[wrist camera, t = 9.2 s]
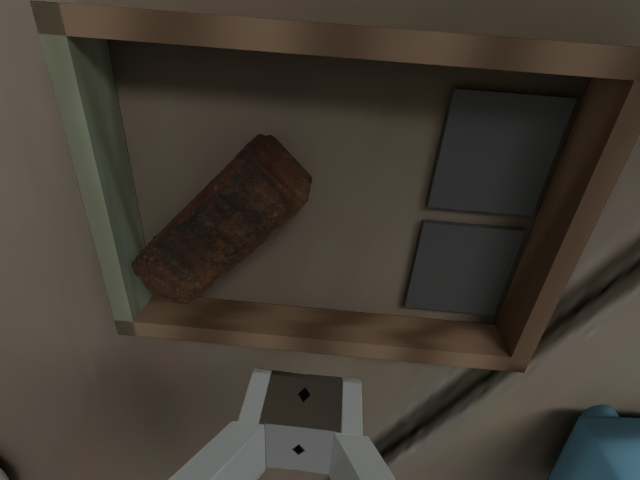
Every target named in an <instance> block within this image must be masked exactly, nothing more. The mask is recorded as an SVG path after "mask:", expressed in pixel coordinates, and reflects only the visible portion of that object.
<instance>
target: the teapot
mask: <svg viewBox="0 0 640 480" xmlns="http://www.w3.org/2000/svg"><path fill="white" fill-rule="evenodd" d="M547 480H640V418H628V417H619V415H618V414H617V412H616V410H615V409H614V408H613V407H611V406H608V405H597V406H593V407H590V408H588V409H587V410H585V411H584V412H583V413H582V414H581V415H579V417H578V419H577V421H576V423H575V425H574V427H573V429H572V431H571V433H570V435H569V437H568V439H567V441H566V443H565V445H564V447H563V449H562V451H561V452H560V454H559V456H558V458H557V460H556V462H555V464H554V466H553V468H552V470H551V472H550V474H549V476H548V478H547Z"/></svg>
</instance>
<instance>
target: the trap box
mask: <svg viewBox="0 0 640 480" xmlns="http://www.w3.org/2000/svg"><path fill="white" fill-rule="evenodd" d="M30 3H31V6H32V10H33V14H34V18H35V22H36V25H37V29H38V33H39V37H40V40H41V44H42V48H43V52H44V56H45V59H46V63H47V67H48V71H49V75H50V78H51V82H52V86H53V90H54V93H55V97H56V101H57V105H58V109H59V112H60V116H61V120H62V124H63V127H64V131H65V135H66V139H67V143H68V146H69V150H70V154H71V158H72V162H73V165H74V169H75V173H76V177H77V180H78V184H79V188H80V192H81V196H82V199H83V203H84V207H85V211H86V215H87V218H88V222H89V226H90V230H91V233H92V237H93V241H94V245H95V249H96V252H97V256H98V260H99V264H100V267H101V271H102V275H103V279H104V283H105V286H106V290H107V294H108V298H109V302H110V305H111V309H112V313H113V317H114V320H115V324H116V328H117V332H118V334H121V335H131V336H142V337H152V338H163V339H174V340H184V341H195V342H205V343H216V344H226V345H237V346H248V347H258V348H269V349H279V350H290V351H300V352H311V353H322V354H332V355H343V356H353V357H364V358H374V359H385V360H395V361H406V362H417V363H427V364H438V365H448V366H459V367H469V368H480V369H491V370H501V371H512V372H522V373H524V372H525V370H526V368H527V366H528V364H529V362H530V360H531V358H532V356H533V353H534V351H535V349H536V347H537V345H538V343H539V341H540V339H541V337H542V335H543V333H544V331H545V329H546V326H547V324H548V322H549V320H550V318H551V316H552V314H553V312H554V310H555V308H556V306H557V304H558V302H559V299H560V297H561V295H562V293H563V291H564V289H565V287H566V285H567V283H568V281H569V279H570V277H571V275H572V272H573V270H574V268H575V266H576V264H577V262H578V260H579V258H580V256H581V254H582V252H583V250H584V248H585V246H586V243H587V241H588V239H589V237H590V235H591V233H592V231H593V229H594V227H595V225H596V223H597V221H598V219H599V216H600V214H601V212H602V210H603V208H604V206H605V204H606V202H607V200H608V198H609V196H610V194H611V192H612V189H613V187H614V185H615V183H616V181H617V179H618V177H619V175H620V173H621V171H622V169H623V167H624V165H625V162H626V160H627V158H628V156H629V154H630V152H631V150H632V148H633V146H634V144H635V142H636V140H637V138H638V135H639V133H640V47H630V46H617V45H604V44H591V43H578V42H565V41H552V40H538V39H525V38H512V37H499V36H486V35H473V34H460V33H447V32H434V31H421V30H408V29H395V28H382V27H369V26H356V25H343V24H330V23H317V22H304V21H291V20H278V19H265V18H252V17H239V16H226V15H213V14H200V13H187V12H174V11H161V10H148V9H135V8H122V7H109V6H96V5H83V4H70V3H57V2H44V1H31V0H30ZM107 39H112V40H125V41H138V42H150V43H163V44H176V45H189V46H201V47H214V48H227V49H240V50H252V51H265V52H278V53H290V54H303V55H316V56H329V57H341V58H354V59H367V60H380V61H392V62H405V63H418V64H430V65H443V66H456V67H469V68H481V69H494V70H507V71H520V72H532V73H545V74H558V75H570V76H583V77H591V78H590V81H589V83H588V86H587V89H586V91H585V94H584V96H583V99H582V101H581V104H580V106H579V109H578V112H577V114H576V117H575V119H574V122H573V124H572V127H571V130H570V132H569V135H568V137H567V140H566V142H565V145H564V147H563V150H562V153H561V155H560V158H559V160H558V163H557V165H556V168H555V171H554V173H553V176H552V178H551V181H550V183H549V186H548V188H547V191H546V194H545V196H544V199H543V201H542V204H541V206H540V209H539V212H538V214H537V217H536V219H535V222H534V224H533V227H532V230H531V232H530V235H529V237H528V240H527V242H526V245H525V247H524V250H523V253H522V255H521V258H520V260H519V263H518V265H517V268H516V271H515V273H514V276H513V278H512V281H511V283H510V286H509V288H508V291H507V294H506V296H505V299H504V301H503V304H502V306H501V309H500V312H499V314H498V317H497V319H496V322H495V324H494V325H492V324H481V323H470V322H459V321H448V320H438V319H427V318H416V317H405V316H394V315H383V314H373V313H362V312H351V311H340V310H329V309H318V308H307V307H297V306H286V305H275V304H264V303H253V302H242V301H232V300H221V299H210V298H199V297H196V298H195V299H194V300H193V301H191V302H190V303H188V304H178V303H175V302H174V301H172V300H170V299H167V298H164V297H162V296H160V295H157V294H155V293H153V292H151V291H150V290H149V289H147V288H146V286H145V285H144V284H143V281H142V280H141V279H140V277H138V276H136V274H135V273H134V271H133V268H132V266H131V264H132V262H133V261H134V260H135V258H136V256H137V255H138V254H139V253H140V252H141V250H143V249H145V248H146V246H145V241H144V236H143V230H142V225H141V220H140V214H139V209H138V204H137V198H136V193H135V188H134V182H133V177H132V172H131V166H130V161H129V156H128V150H127V145H126V140H125V134H124V129H123V124H122V118H121V113H120V108H119V102H118V97H117V92H116V86H115V81H114V76H113V70H112V65H111V60H110V54H109V49H108V44H107Z"/></svg>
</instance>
